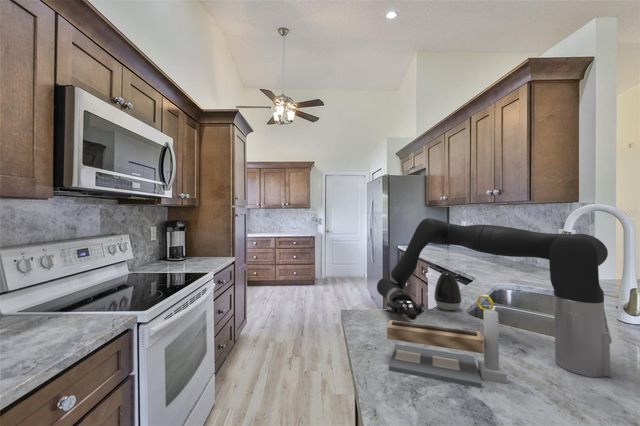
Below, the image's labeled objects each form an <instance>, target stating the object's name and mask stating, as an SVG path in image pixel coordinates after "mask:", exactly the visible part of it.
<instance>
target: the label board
mask: <svg viewBox="0 0 640 426" xmlns="http://www.w3.org/2000/svg"><path fill="white" fill-rule="evenodd" d="M499 333H500V332H499V312H498V311H496V310H493V309H492V310H483V341H484V354H483V360H481V359H478V360H477V363H476V360H475V357H474V355H467V354H461V353H455V352H449V351H443V350H442V351H441V350H435V349H430V348H423V347H417V346H410V345H404V344H399V343H398V344H397V343H395V344H394V348H393V350H392V351H393V352H392V354H391V358H390V362H389V366H388V371H391V372H397V373H402V374H406V375H407V374H408V375H412V376H417V377H422V378H423V377H424V378H428V379H433V380H439V381H442V382H448V381H449V383H453V382H454V383H453V384H459V385H464V386H469V385H470V386H469V387H474V386H476V387H475V388H479V387H481V388H480V389H482V388H483V386H482V385H483V384H482V380H485V379H486V381H492V382H497V383H502V384H507V383H508V382H507V381H508V380H507V379H508V375H507V373H506V370H505V368H504V365H503V364H502V363H500V353H499V352H500V351H499V346H500V345H499V341H500V340H499V339H500V338H499ZM480 375H481V376H480Z"/></svg>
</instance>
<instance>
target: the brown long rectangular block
mask: <svg viewBox="0 0 640 426" xmlns="http://www.w3.org/2000/svg"><path fill="white" fill-rule="evenodd" d="M386 339H387V340H391V341H397V342H398V341H399V342H404V343H405V342H406V343H412V344H417V345H418V344H419V345H424V346H430V347H438V348H443V349H445V348H446V349H450V350H451V349H452V350H457V351H463V352H469V353H477V354H483V355H484V337H483V336H482V334H481V331H478V330H472V329H470V330H469V329H463V328H455V327H447V326H439V325H431V324H423V323H415V322H409V321H400V320H393V319H389V321H388V323H387V326H386Z"/></svg>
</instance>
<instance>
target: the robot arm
mask: <svg viewBox="0 0 640 426" xmlns="http://www.w3.org/2000/svg"><path fill="white" fill-rule="evenodd" d="M429 244H434V245H448V246H450V245H452V246H459V247H463V248H467V249H469V250H472V251H474V252H479V253H482V254H489V255H493V256H500V257H508V258H509V257H512V258H537V259H544V260H548V261H549V262H548V263H549V277H550V284H551V286H552V288H553V303H554V304H553V307H554V312H553V313H554V315H553V316H554V357H555V363H556V365H558V366H559V367H561V368H563V369H564V370H567V371H569V372H572V373H574V374H578V375H582V376H586V377H593V378H600V377H602V378H603V377H609V378H610V377H611V349H610V348H611V347H610V346H611V344H610V335H609V334H607V333H606V332H605V331H606V329H605V328H606V327H605V323H606V321H605V293H604V289H603V288H602V287H601V285H600V275H599V266H601V265H602V264H604V263H605V261H606V260H607V258H608V256H609V252H608V248H607V246H606V245H605V244H604V242H602V240H600V239H599V238H597V237H595V236H593V235H592V234H591V235H590V234H588V233H587V234H586V233H550V232H549V233H547V232H540V231H539V232H538V231H531V230H527V229H522V228H516V227H508V226H503V225H494V224H470V225H460V224H454V223H449V222H446V221H442V220H438V219H437V218H436V219H435V218H431V217H427V218H424V219H422V220H421V221H420V222H419V224H418V225H417V226H416V229H415V230H414V233H413V235H412V236H411V239H410V241H409V243H408V245H407V247H406V249H405V251H404V252H403V254H402V256H401V258H400V259H399V260H398V262H397V263H396V264H395V266H394V267H393V269H392V270H391V273H390V276H391V278H392V279H393V280H394V281H393V280H390V279H389V278H386V277H383V278H381V279H379V280H378V282H377V284H376V291H377V292H378V294H379V295H380V296H382V297H384V299H386V300H387V303H386V312H388V313H392V314H395V315H397V316H399V317H400V316H405V317H406V318H407V319H409V320H410V321H416V319H417V317H418V316H420V315H422V314H423V313H424V312H425V304H424V303H418V304H417V302H415V301H413V299H412V297H411V296H410V295H409V294H408V293H407V292H406V291H405V290H404V288H405V286H406V284H407V282H408V280H409V279H410V277H412V275H413V274H414V272H415V271H416V269H417V267H418V264H419V263H418V262H419V259H420V255H421V253H422V251H423V250H424V249H425V247H426V246H428V245H429Z"/></svg>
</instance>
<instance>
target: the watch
mask: <svg viewBox="0 0 640 426" xmlns="http://www.w3.org/2000/svg"><path fill="white" fill-rule="evenodd" d="M481 298H484V299H487V300H488V301H489V303H490V308H485V307H483V306H482V305H481V302H480V300H481ZM476 303H477V306H478V307H479V308H480V309H481V310H483V311H484V310H493V309H494V301H493V300H492V298H491V297H490V295H488V294H481V295H480V296H478V298H477V299H476Z"/></svg>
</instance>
